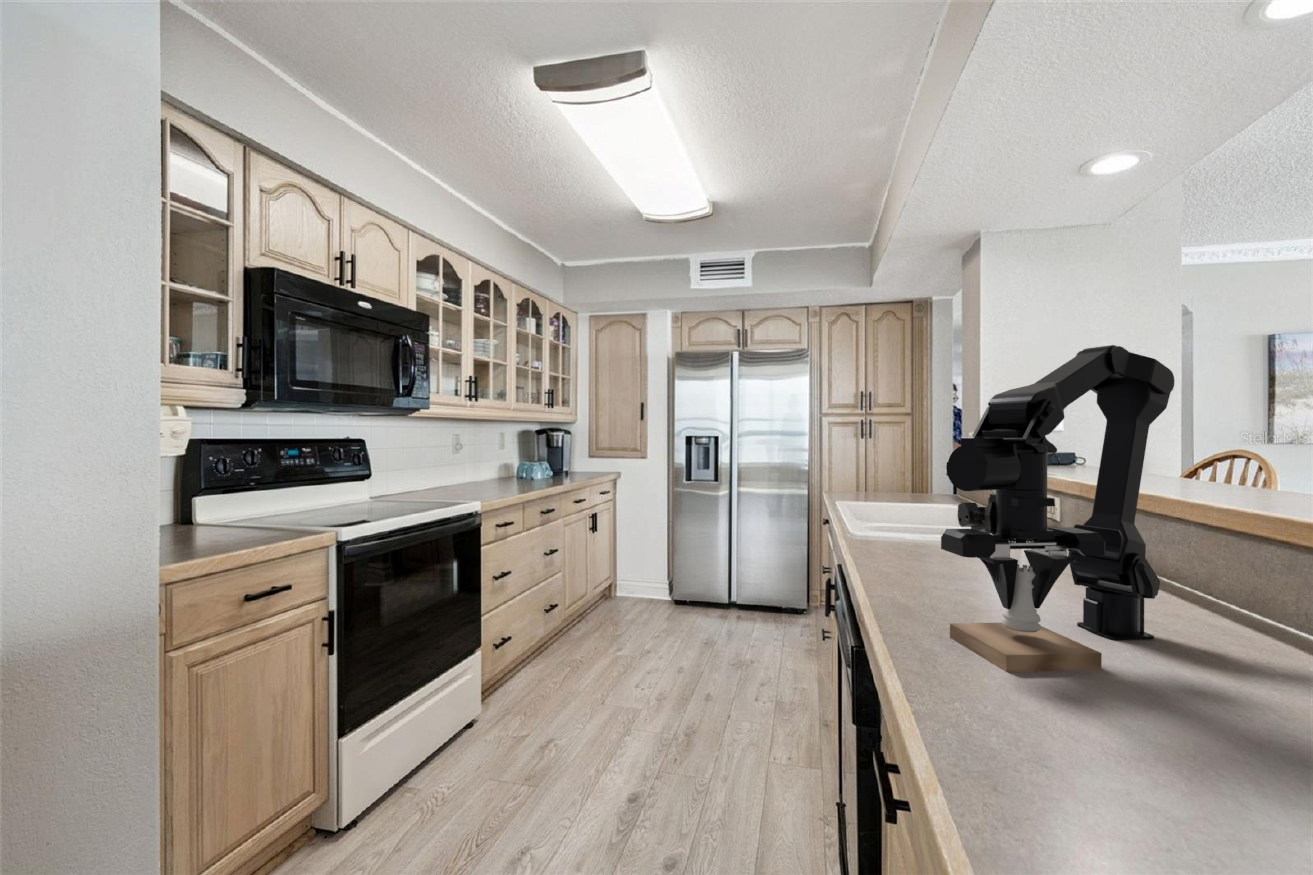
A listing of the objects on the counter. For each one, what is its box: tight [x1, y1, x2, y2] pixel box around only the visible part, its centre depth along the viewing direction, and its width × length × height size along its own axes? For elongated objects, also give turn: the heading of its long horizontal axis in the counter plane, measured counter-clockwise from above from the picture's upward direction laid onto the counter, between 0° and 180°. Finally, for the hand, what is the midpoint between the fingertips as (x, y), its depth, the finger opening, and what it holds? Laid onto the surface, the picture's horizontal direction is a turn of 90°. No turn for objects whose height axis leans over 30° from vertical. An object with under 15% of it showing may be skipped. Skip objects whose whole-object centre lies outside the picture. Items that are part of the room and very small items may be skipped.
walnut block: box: [949, 622, 1103, 673], centre depth 77 cm, size 12×12×2 cm
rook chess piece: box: [1001, 564, 1042, 632], centre depth 77 cm, size 4×4×8 cm
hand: (1020, 608), depth 77 cm, fingers closed on rook chess piece, 3 cm apart
